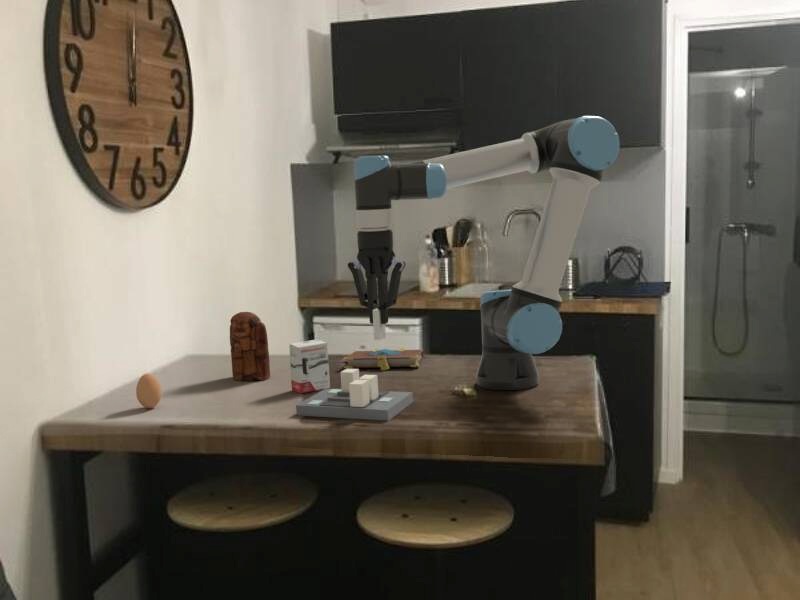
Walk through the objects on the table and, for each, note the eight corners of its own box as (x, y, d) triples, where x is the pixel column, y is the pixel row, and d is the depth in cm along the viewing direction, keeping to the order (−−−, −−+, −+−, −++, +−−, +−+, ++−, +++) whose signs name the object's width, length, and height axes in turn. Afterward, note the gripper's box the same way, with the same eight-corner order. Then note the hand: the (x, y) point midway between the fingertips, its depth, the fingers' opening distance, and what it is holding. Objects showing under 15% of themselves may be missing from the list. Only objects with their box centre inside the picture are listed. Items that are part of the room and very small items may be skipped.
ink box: (300, 394, 207) (297, 346, 205) (291, 390, 211) (288, 343, 209) (331, 387, 212) (328, 341, 210) (321, 384, 216) (318, 338, 214)
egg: (142, 405, 204) (139, 371, 203) (166, 404, 204) (162, 370, 203) (134, 411, 199) (130, 377, 198) (158, 410, 199) (155, 375, 197)
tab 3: (378, 396, 190) (377, 375, 190) (372, 400, 187) (370, 378, 186) (366, 396, 191) (365, 374, 191) (359, 400, 188) (358, 378, 187)
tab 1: (360, 389, 197) (358, 369, 197) (353, 393, 194) (352, 372, 193) (348, 389, 199) (347, 368, 198) (341, 393, 195) (340, 372, 195)
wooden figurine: (225, 380, 225) (219, 314, 223) (236, 375, 231) (231, 310, 229) (265, 381, 222) (259, 314, 219) (275, 376, 228) (270, 310, 225)
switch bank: (413, 402, 194) (412, 389, 193) (388, 420, 180) (387, 406, 180) (326, 397, 202) (325, 385, 201) (296, 415, 188) (295, 402, 188)
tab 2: (369, 402, 186) (368, 380, 185) (363, 407, 182) (361, 384, 182) (357, 401, 187) (355, 379, 186) (350, 406, 184) (349, 383, 183)
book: (340, 363, 246) (339, 346, 245) (425, 361, 242) (424, 344, 241) (327, 373, 229) (326, 355, 229) (418, 371, 226) (417, 353, 225)
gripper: (409, 227, 181) (414, 336, 184) (355, 228, 186) (360, 334, 189) (395, 230, 174) (400, 343, 177) (339, 231, 179) (345, 340, 182)
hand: (379, 338), depth 183 cm, fingers closed
